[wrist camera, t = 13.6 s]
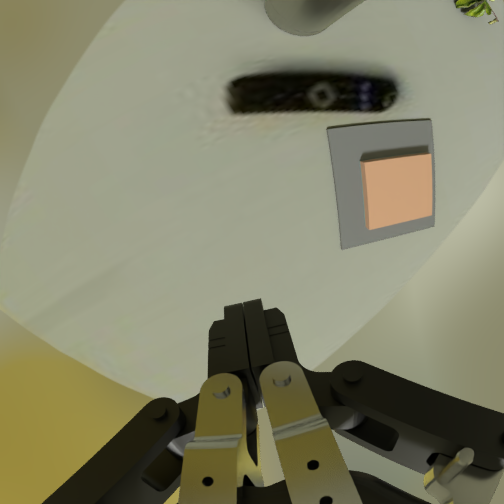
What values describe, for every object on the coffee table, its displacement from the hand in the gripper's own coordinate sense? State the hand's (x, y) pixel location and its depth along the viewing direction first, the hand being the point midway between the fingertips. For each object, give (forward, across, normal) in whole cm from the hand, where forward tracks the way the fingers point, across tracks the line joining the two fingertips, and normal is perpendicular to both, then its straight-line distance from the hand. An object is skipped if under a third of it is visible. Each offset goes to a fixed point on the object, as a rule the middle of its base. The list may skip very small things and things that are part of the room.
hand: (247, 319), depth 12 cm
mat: (+29, -23, +5) cm, 37 cm away
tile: (+28, -18, +6) cm, 34 cm away
